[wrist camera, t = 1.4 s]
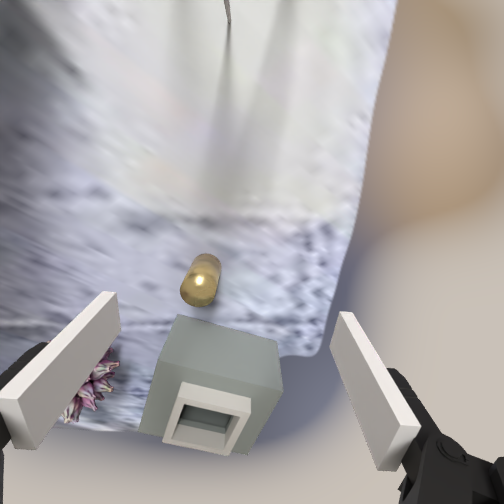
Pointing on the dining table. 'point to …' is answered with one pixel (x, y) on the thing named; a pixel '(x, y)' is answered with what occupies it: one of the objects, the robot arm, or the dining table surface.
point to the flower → (91, 388)
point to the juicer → (227, 10)
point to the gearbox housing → (212, 388)
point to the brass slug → (201, 281)
